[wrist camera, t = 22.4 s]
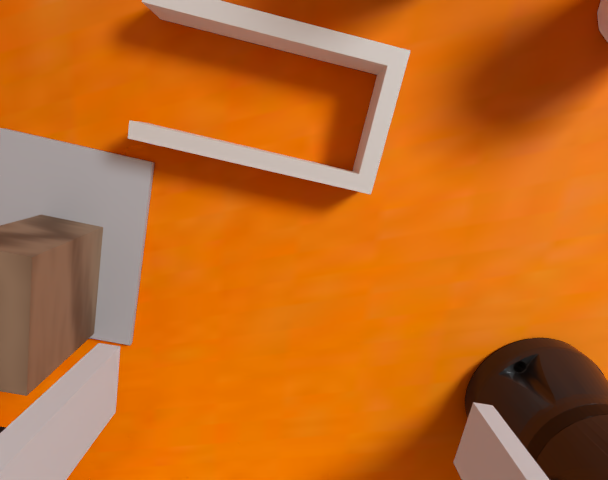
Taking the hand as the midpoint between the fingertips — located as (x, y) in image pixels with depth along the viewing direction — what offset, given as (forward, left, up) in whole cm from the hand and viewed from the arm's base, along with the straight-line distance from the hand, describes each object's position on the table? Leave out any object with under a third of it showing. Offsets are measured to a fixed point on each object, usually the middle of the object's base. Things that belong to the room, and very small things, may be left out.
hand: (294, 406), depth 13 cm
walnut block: (-9, +22, -24) cm, 34 cm away
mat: (-6, +22, -25) cm, 34 cm away
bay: (+12, +6, -25) cm, 28 cm away
